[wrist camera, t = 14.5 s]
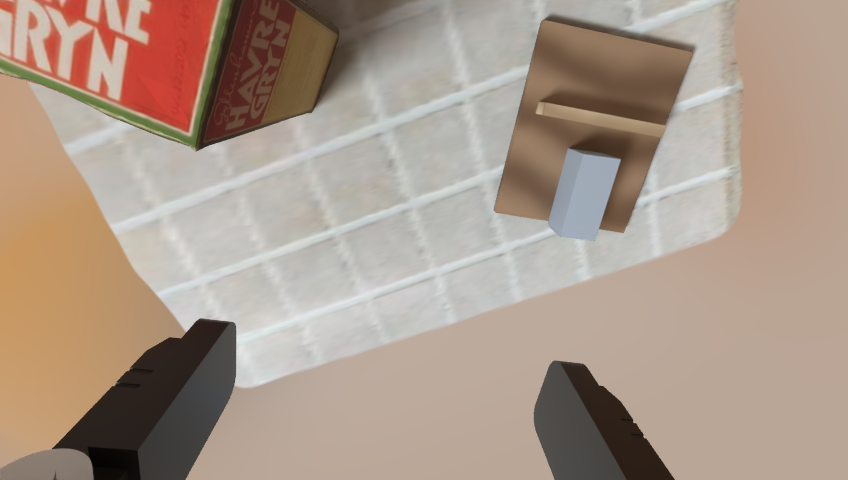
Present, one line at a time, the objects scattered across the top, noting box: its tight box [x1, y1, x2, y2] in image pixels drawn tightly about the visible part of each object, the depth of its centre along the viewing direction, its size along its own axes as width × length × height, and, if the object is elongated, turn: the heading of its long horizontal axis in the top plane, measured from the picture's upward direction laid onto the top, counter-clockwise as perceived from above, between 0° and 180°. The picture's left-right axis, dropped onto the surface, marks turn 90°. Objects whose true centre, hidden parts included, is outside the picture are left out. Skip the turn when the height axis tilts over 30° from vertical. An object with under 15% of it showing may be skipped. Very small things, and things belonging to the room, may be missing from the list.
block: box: [548, 148, 621, 241], centre depth 43 cm, size 4×4×9 cm
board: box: [494, 20, 693, 233], centre depth 42 cm, size 20×16×4 cm
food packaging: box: [0, 0, 339, 151], centre depth 27 cm, size 13×9×25 cm
